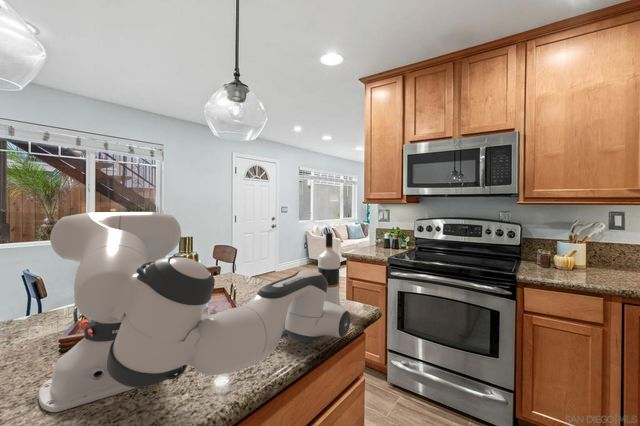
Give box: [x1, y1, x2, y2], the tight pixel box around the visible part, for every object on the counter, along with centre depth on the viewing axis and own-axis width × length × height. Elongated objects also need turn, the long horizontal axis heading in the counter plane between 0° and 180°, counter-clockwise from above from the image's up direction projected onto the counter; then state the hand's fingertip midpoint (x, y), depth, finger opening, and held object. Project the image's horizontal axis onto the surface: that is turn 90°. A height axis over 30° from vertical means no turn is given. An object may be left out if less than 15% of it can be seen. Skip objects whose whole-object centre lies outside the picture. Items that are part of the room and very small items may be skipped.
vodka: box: [317, 232, 342, 307], centre depth 115 cm, size 9×9×30 cm
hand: (277, 299), depth 103 cm, fingers open, 7 cm apart
